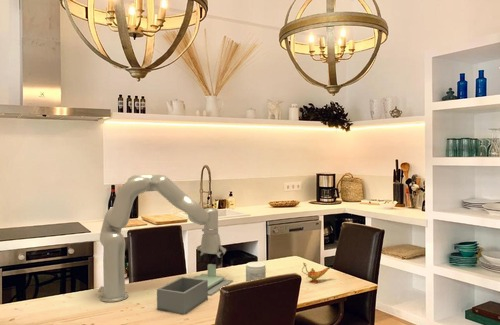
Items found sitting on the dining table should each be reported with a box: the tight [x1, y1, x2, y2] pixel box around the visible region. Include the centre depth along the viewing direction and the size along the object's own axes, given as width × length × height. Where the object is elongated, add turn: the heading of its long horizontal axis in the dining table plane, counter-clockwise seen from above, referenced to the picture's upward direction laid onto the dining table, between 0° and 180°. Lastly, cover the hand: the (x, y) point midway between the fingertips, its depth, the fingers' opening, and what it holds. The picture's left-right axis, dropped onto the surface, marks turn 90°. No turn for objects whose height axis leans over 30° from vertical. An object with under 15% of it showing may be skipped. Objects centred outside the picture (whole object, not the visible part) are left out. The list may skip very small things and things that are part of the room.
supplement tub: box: [245, 261, 267, 282], centre depth 201 cm, size 10×10×15 cm
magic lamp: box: [301, 262, 332, 284], centre depth 221 cm, size 7×18×11 cm, turn 112°
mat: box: [193, 275, 234, 296], centre depth 215 cm, size 22×24×1 cm
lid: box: [194, 263, 226, 288], centre depth 216 cm, size 14×20×8 cm
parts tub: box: [156, 276, 209, 316], centre depth 188 cm, size 14×20×9 cm
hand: (211, 263), depth 223 cm, fingers open, 9 cm apart
